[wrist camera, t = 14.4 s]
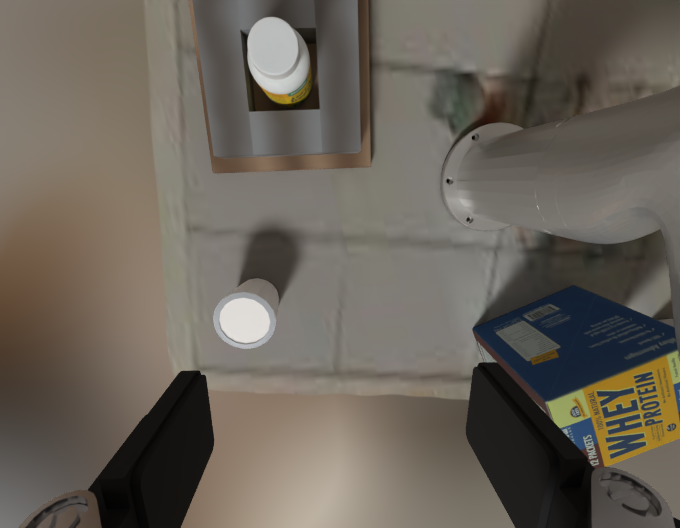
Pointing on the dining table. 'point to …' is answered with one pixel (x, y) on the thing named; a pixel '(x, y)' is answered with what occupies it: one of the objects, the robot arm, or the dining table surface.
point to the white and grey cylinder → (247, 314)
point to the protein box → (592, 371)
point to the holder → (265, 116)
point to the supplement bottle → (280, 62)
